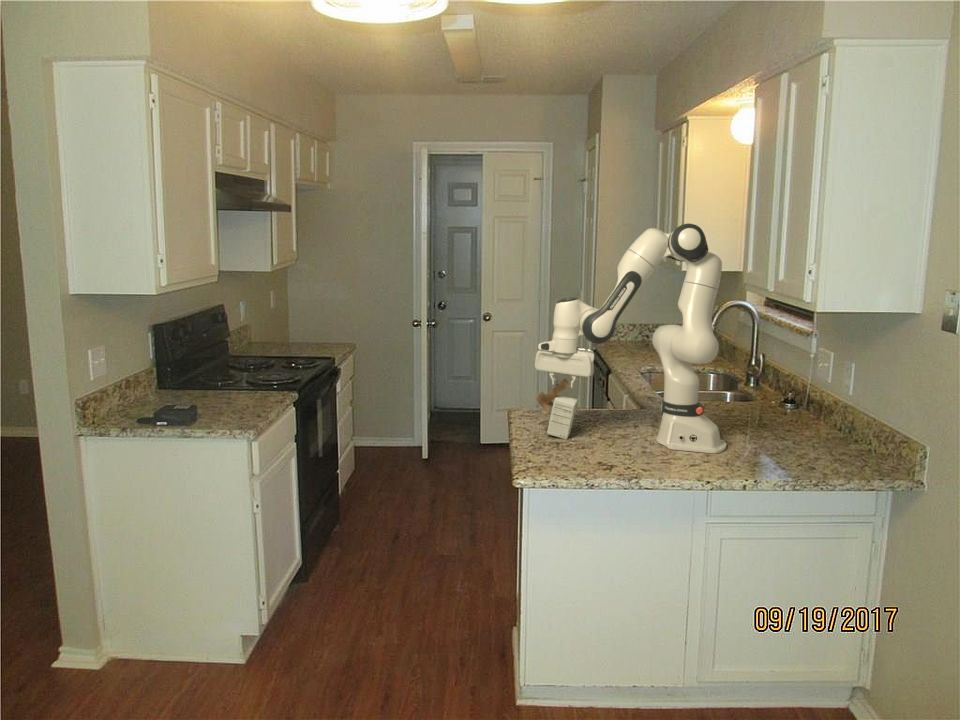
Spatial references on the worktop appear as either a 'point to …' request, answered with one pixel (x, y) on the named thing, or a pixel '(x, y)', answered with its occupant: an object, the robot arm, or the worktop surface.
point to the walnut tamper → (551, 395)
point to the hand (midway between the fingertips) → (562, 386)
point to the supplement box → (562, 416)
